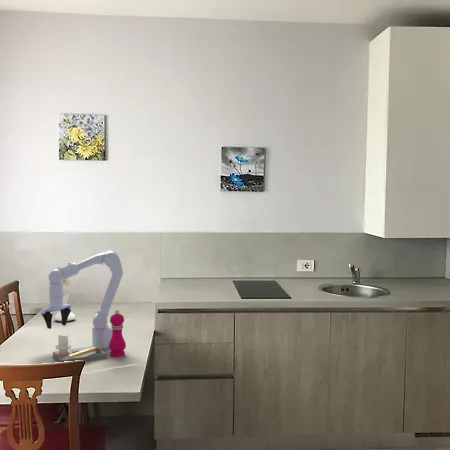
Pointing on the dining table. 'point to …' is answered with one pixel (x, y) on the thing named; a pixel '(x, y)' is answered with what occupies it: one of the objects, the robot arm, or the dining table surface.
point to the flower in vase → (65, 302)
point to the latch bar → (84, 352)
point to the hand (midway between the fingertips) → (56, 326)
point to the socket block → (88, 357)
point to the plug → (63, 343)
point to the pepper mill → (117, 335)
